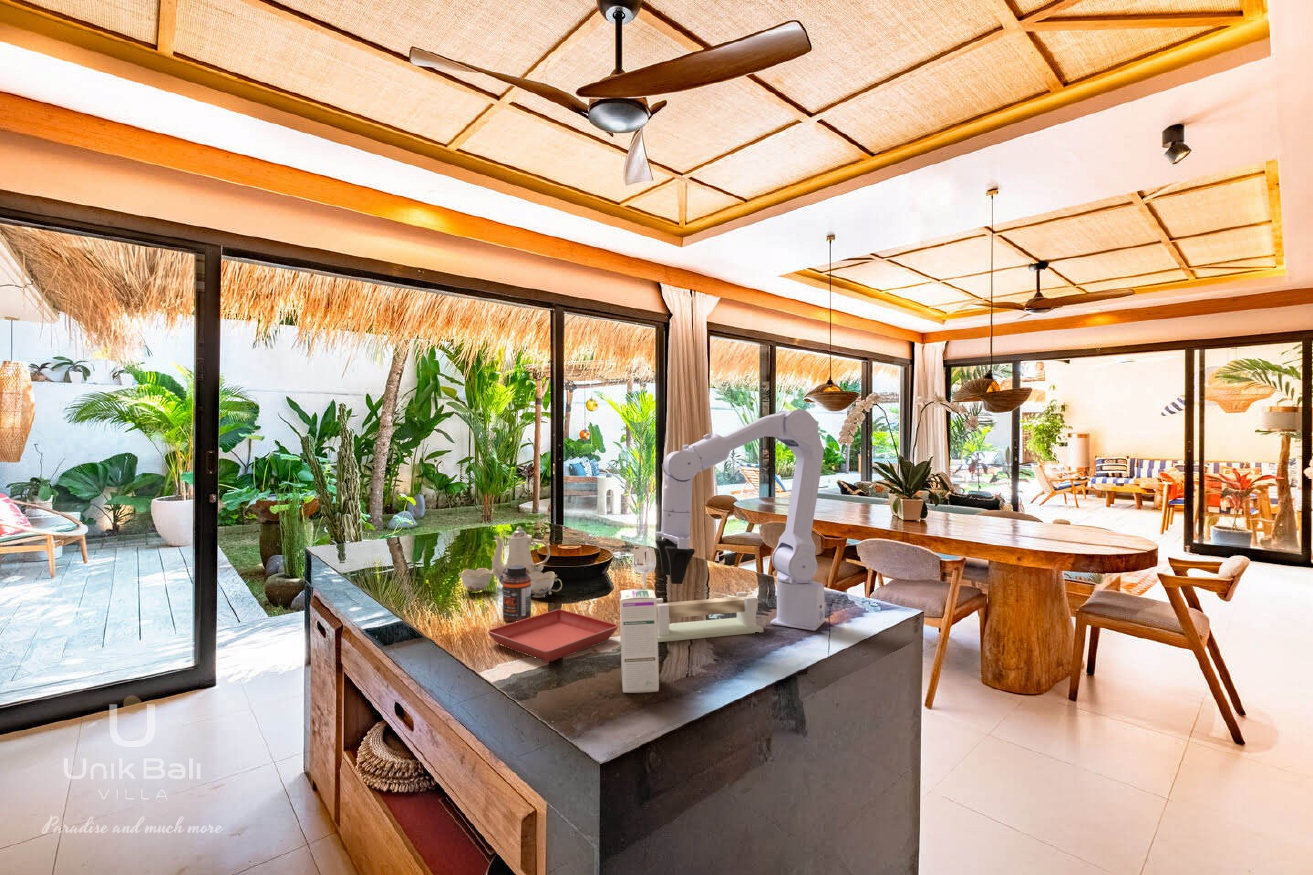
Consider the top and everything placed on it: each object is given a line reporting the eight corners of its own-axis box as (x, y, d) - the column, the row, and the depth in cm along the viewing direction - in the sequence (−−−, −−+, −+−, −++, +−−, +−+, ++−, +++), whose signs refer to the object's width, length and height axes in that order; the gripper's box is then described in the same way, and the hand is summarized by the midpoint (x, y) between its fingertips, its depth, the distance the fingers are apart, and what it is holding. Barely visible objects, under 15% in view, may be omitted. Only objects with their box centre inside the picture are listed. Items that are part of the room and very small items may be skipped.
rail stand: (747, 620, 129) (747, 589, 129) (763, 631, 121) (763, 599, 121) (646, 629, 124) (645, 597, 124) (655, 642, 116) (655, 608, 116)
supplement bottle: (497, 621, 131) (496, 568, 130) (513, 613, 136) (513, 562, 136) (520, 624, 128) (520, 570, 128) (536, 616, 134) (536, 564, 134)
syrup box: (659, 691, 93) (658, 596, 93) (621, 693, 93) (620, 598, 93) (656, 677, 99) (655, 587, 99) (620, 678, 99) (619, 588, 99)
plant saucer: (546, 669, 104) (546, 650, 104) (485, 647, 116) (485, 629, 116) (620, 642, 118) (620, 624, 118) (559, 624, 129) (559, 608, 129)
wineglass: (653, 600, 145) (653, 550, 145) (630, 599, 146) (629, 549, 146) (658, 594, 151) (658, 546, 151) (635, 593, 152) (635, 545, 152)
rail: (752, 607, 126) (752, 595, 126) (757, 610, 124) (757, 598, 124) (649, 616, 121) (649, 604, 121) (652, 619, 119) (652, 607, 119)
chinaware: (448, 603, 151) (444, 537, 150) (478, 580, 168) (475, 521, 166) (557, 607, 147) (553, 539, 145) (577, 583, 163) (574, 522, 161)
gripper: (650, 506, 129) (645, 570, 128) (665, 514, 114) (660, 587, 114) (682, 507, 130) (678, 571, 130) (701, 516, 116) (696, 588, 116)
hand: (672, 579), depth 122 cm, fingers open, 7 cm apart
